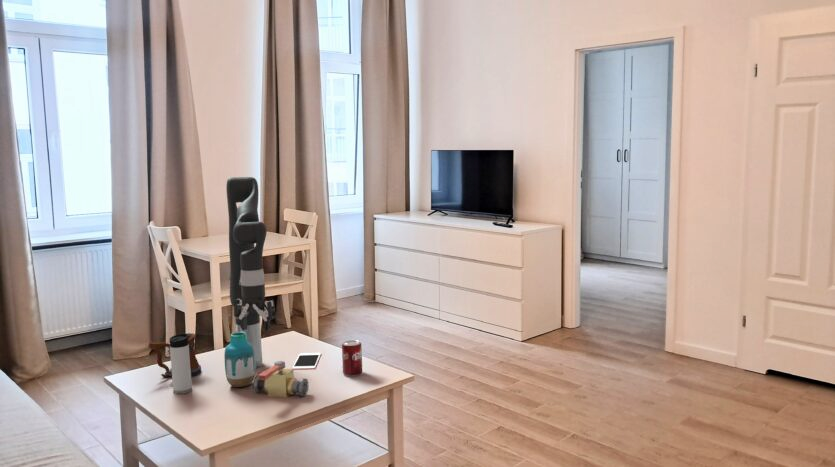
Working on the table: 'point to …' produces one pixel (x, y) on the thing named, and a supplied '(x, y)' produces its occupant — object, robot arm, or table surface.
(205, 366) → the table surface
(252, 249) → the robot arm
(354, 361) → the soda can
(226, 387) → the table surface
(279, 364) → the lever
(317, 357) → the cell phone
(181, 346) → the travel mug
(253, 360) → the vase
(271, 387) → the valve pipe
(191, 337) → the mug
